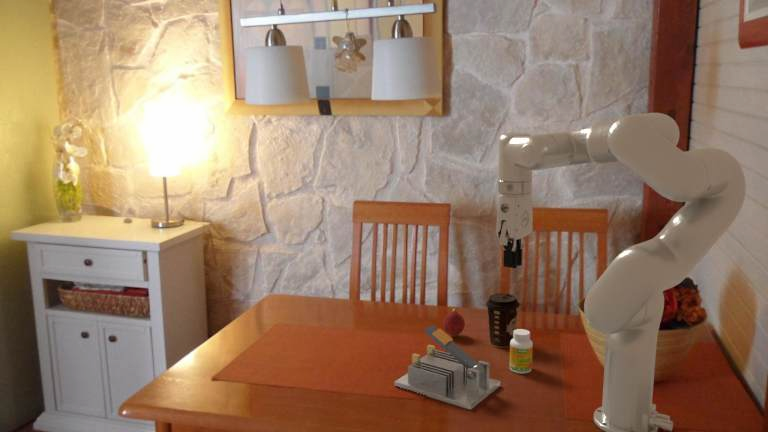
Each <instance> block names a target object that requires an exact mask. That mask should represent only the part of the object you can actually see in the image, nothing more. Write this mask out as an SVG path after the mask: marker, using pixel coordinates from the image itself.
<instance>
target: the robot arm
mask: <svg viewBox="0 0 768 432" xmlns="http://www.w3.org/2000/svg"><path fill="white" fill-rule="evenodd" d="M498 139H499V140H498V167H497V168H498V174H497V175H498V176H497V178H498V180H497V194H498V202H497V203H498V204H497V211H496V236H497V237H498V238H499V241H498V243H499V245H501V246H502V250H503V267H506V268H510V269H511V268H512V269H516V268H518V266H519V267H520V266H522V265H523V263H522V262H523V247H524V240H525V237H527V236H529V235H531V233H533V230H534V229H533V228H534V226H533V225H534V224H533V223H534V219H533V218H534V217H533V215H534V214H533V198H532V193H533V190H532V189H533V188H532V187H533V171H541V170H548V169H552V168H553V169H555V168H562V167H568V166H573V165H574V166H576V165H582V164H591V163H595V164H597V165H602V166H603V165H609V164H617V163H618V164H619V163H621V164H622V165H623V166H624V167H625V168H626V169H628V170H629V171H630V172H631V173H632V174H634V175H635V176H636V177H637V178H638V179H640V180H641V181H642V182H644V183H645V184H646V185H647V186H649V188H651V189H652V190H653V191H655V192H656V193H657V194H659V195H660V196H661V197H663V198H665V199H668V200H670V201H672V202H677V203H678V202H679V203H685V204H684V205H683V206H682V207H681V208H680V209H679V210H678V211H676V213H674V215H673V216H672V217H670V219H669V221H668V222H667V224H666V225H664V227H663V228H662V230H660V232H658V234H657V235H655V236H654V237H653V238H651V239H648V240H646V241H643V242H640V243H637V244H634V245H631V246H629V247H627V248H625V249H624V250H623V251H621V252H620V253H619V254H618V255H617V256H615V258H614V259H613V261H611V263H610V264H609V265H608V267H607V268H606V269H605V270H604V272H603V273H602V274H601V275H600V277H599V278H598V279H597V280H596V282H595V283H594V284H593V285H592V286H591V288H590V289H589V291H588V292H587V294H586V297H585V299H584V304H583V311H584V316H585V318H586V319H585V320H586V321H587V323H588V325H590V327H591V328H593V330H595V331H597V332H599V333H602V334H606V339H605V340H606V341H605V349H604V350H605V352H604V366H603V367H604V370H603V371H604V372H603V384H602V386H603V387H602V388H603V389H602V401H601V404H602V405H601V406H600V407H598V408H596V409H595V411H594V413H593V422H594V424H595V425H596V426H597V427H598V428H599V429H600V430H602V431H603V432H658V431H659V428H660V429H663V430H664V431H669V432H672V430H673V427H674V421H673V420H671V419H670V418H671V416H670V415H668V414H664V413H659V411H657V410H656V409H657V405H656V404H655V403H653V393H654V382H655V381H654V380H655V368H656V367H655V366H656V355H657V343H658V336H659V335H658V334H659V329H660V326H661V325H660V324H661V322H662V318H663V313H664V309H665V296H664V291H666V290H669V289H672V288H674V287H676V286H678V285H679V284H681V283H682V282H683V281H684V280H685V279H686V278H687V277H688V275H689V274H690V273H691V272H692V271H693V269H694V268H695V267H696V266H697V265H698V264H699V263H700V262H701V260H703V258H704V257H705V256H706V255H707V254H708V253H709V251H710V250H711V249H712V247H713V246H714V245H715V244H716V243H717V242H718V241H719V239H721V237H722V236H723V235H724V234H725V233H726V232H727V230H728V229H729V228H730V227H731V226H732V225H733V223H734V222H735V220H736V219H737V217H738V216H739V213H740V212H741V210H742V207H743V205H744V202H745V197H746V194H747V193H746V191H747V186H746V185H747V182H746V178H745V177H746V176H745V173H744V170H743V168H742V166H741V164H740V163H739V160H738V159H736V157H735V156H733V155H732V154H731V153H729V152H728V151H726V150H722V149H718V148H712V147H711V148H707V147H706V148H698V149H694V150H686V151H683V150H682V149H680V148H679V147H678V146H677V145H678V143H679V140H680V128H679V126H678V124H677V122H676V121H675V119H673V118H672V117H671V116H670V115H667V114H664V113H660V112H648V113H647V112H646V113H634V114H629V115H625V116H622V117H621V118H615V119H610V120H604V121H603V120H602V121H597V122H594V123H592V124H591V125H590V126H589V127H587V128H581V129H574V130H569V131H561V132H560V131H559V132H552V133H551V132H550V133H542V134H532V135H531V133H528V132H527V133H526V132H505V133H502V134H501V135H500V136H499V138H498Z"/></svg>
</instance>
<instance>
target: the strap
mask: <svg viewBox="0 0 768 432" xmlns="http://www.w3.org/2000/svg"><path fill="white" fill-rule="evenodd" d="M423 332H424V333H425V334H426V335H427V336H428V337H429V338H430V339H431V340H433V342H435V343H436V344H438V346H440V347H441V348H442V349H443V350H445V351H446V353H449V354H451V355H452V356H453V357H454V358H455V359H457V360H458V361H459V362H460V363H461V364H462V365H464V366H465V367H466V368H467V369H469V368H472V369H476V370H479V376H481V375H482V374H483V373H485V372H486V366H485V365H484V364H483V363H478V361H477V360H475V358H473V357H472V356H471V355H469V353H467V352H466V351H465V350H464V349H462V348H461V347H460V346H459V345H457V344H456V343H455V342H454V341H453V340H454V339H453V337H452V336H451V335H449V334H448V333H447V332H446V331H445V330H443V329H441V328H437V327H436V326H435V325H433V324H431V325H430V326H428V327H426V328H424V330H423Z"/></svg>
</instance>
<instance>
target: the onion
mask: <svg viewBox="0 0 768 432" xmlns="http://www.w3.org/2000/svg"><path fill="white" fill-rule="evenodd" d="M465 323H466V322H465V319H464V317H463V315H462V314H461V313H459V312H458V311H457V309H456V308H453V309H452V310H451V312H449V313H448V314H447V315H446V316H445V317H444V319H443V323H442V324H443V328H444V332H445V333H446V334H447V335H449V336H450V337H451V338H456V337H457V336H459V335H460V334H461V333H462V332H463V331H464V330H465V326H466V324H465Z"/></svg>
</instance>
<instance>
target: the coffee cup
mask: <svg viewBox="0 0 768 432" xmlns="http://www.w3.org/2000/svg"><path fill="white" fill-rule="evenodd" d="M485 305H486V307H487V320H488V321H487V322H488V338H489V345H490V346H492V347H493V348H501V349H503V348H510V341H511V340H512V339H513V338H514V337H513V331H514V330H516V328H517V320H518V311H517V309H519V308H520V305H521V304H520V302H519V301H518V299H517V298H516V296H514V295H513V294H510V293H495V294H491V295H489V297H488V299H487V301H486V303H485Z"/></svg>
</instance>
